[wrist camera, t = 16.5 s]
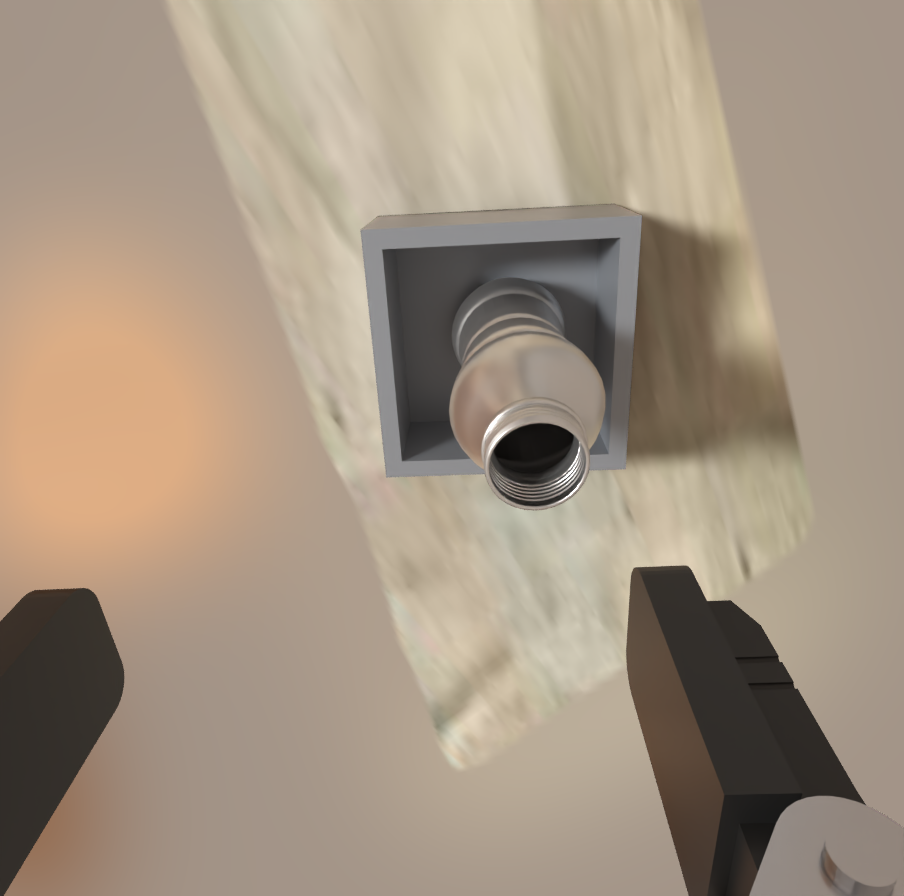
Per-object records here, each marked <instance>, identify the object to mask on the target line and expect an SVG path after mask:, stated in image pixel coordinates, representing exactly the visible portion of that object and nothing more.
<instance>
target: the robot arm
mask: <svg viewBox="0 0 904 896" xmlns="http://www.w3.org/2000/svg"><path fill="white" fill-rule="evenodd" d="M626 658H627V671H628V679H629V684H630V689H631V694H632V697H633V701H634V705H635V708H636V711H637V715H638V719H639V722H640V726H641V729H642V733H643V736H644V740H645V743H646V747H647V750H648V753H649V757H650V761H651V764H652V768H653V771H654V775H655V778H656V782H657V785H658V789H659V792H660V796H661V799H662V803H663V807H664V810H665V814H666V817H667V820H668V824H669V828H670V831H671V835H672V838H673V842H674V845H675V849H676V852H677V856H678V859H679V862H680V866H681V869H682V874H683V877H684V880H685V884H686V888H687V891H688V894H689V896H904V828H903V827H902V826H901V825H900V824H898V823H897V822H895V821H894V820H892V819H891V818H889V817H888V816H886V815H885V814H883V813H881V812H879V811H877V810H875V809H873V808H871V807H868V806H867V805H866V804H865V803H864V801H863V800H862V798H861V797H860V795H859V794H858V792H857V791H856V789H855V787H854V785H853V784H852V782H851V780H850V778H849V777H848V775H847V773H846V771H845V770H844V768H843V766H842V765H841V763H840V761H839V759H838V758H837V756H836V754H835V753H834V751H833V749H832V747H831V746H830V744H829V742H828V740H827V739H826V737H825V735H824V734H823V732H822V730H821V728H820V727H819V725H818V723H817V722H816V720H815V718H814V716H813V715H812V713H811V711H810V710H809V708H808V706H807V705H806V703H805V701H804V699H803V697H802V696H801V694H800V692H799V690H798V689H795V688H794V684H793V680H792V678H791V677H790V675H789V673H788V672H787V670H786V668H785V666H784V665H783V663H782V662H779V659H778V654H777V653H776V651H775V649H774V647H773V646H772V644H771V642H770V641H769V639H768V637H767V635H766V634H765V632H764V630H763V629H762V627H761V625H759V624H758V623H757V622H756V621H755V620H754V619H752V618H751V617H750V616H749V615H748V614H746V613H745V612H744V611H742V609H740V608H739V607H738V606H737V605H735V604H734V603H733V602H732V601H730V600H728V601H707V600H706V598H705V596H704V594H703V592H702V590H701V588H700V586H699V584H698V582H697V580H696V578H695V576H694V574H693V572H692V570H691V569H690V568H689V567H688V566H661V567H636V568H634V569H633V571H632V575H631V584H630V600H629V615H628V631H627V647H626ZM123 687H124V669H123V664H122V661H121V659H120V656H119V653H118V651H117V648H116V645H115V643H114V640H113V638H112V635H111V632H110V630H109V627H108V624H107V622H106V619H105V616H104V614H103V611H102V609H101V606H100V604H99V601H98V599H97V597H96V595H95V594H94V593H93V592H92V591H91V590H89V589H86V588H76V589H53V590H34V591H32V592H30V593H28V594H26V595H25V596H24V597H23V598H22V599H21V600H20V601H19V602H18V603H17V604H16V605H15V607H14V608H13V609H12V610H11V611H10V612H9V613H8V614H7V615H6V616H5V617H4V618H3V620H1V621H0V896H4V894H5V892H6V891H7V889H8V888H9V886H10V884H11V883H12V881H13V879H14V878H15V876H16V874H17V873H18V871H19V869H20V868H21V866H22V864H23V863H24V861H25V859H26V858H27V856H28V854H29V853H30V851H31V850H32V848H33V846H34V844H35V843H36V841H37V839H38V838H39V836H40V834H41V833H42V831H43V829H44V828H45V826H46V825H47V823H48V821H49V820H50V818H51V816H52V815H53V813H54V811H55V810H56V808H57V806H58V805H59V803H60V801H61V800H62V798H63V797H64V795H65V793H66V792H67V790H68V788H69V787H70V785H71V783H72V782H73V780H74V778H75V777H76V775H77V773H78V771H79V770H80V768H81V767H82V765H83V763H84V762H85V760H86V758H87V757H88V755H89V753H90V752H91V750H92V748H93V747H94V745H95V744H96V742H97V740H98V738H99V737H100V735H101V734H102V732H103V730H104V729H105V727H106V725H107V724H108V722H109V720H110V719H111V717H112V715H113V713H114V712H115V710H116V709H117V707H118V705H119V702H120V700H121V696H122V692H123Z"/></svg>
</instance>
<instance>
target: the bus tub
mask: <svg viewBox="0 0 904 896" xmlns="http://www.w3.org/2000/svg"><path fill="white" fill-rule="evenodd" d="M641 224H642V215H640V214H637V213H635V212H633V211H630V210H628V209H625V208H623V207H621V206H618V205H616V204H599V205H580V206H561V207H542V208H522V209H503V210H484V211H465V212H446V213H426V214H407V215H388V216H378V217H376V218H375V219H374V220H372V221H371V222H370V223H369V224H367V225H366V226H365V227H364V228H362V229H361V239H362V249H363V258H364V268H365V277H366V287H367V297H368V306H369V316H370V325H371V335H372V344H373V354H374V364H375V373H376V383H377V392H378V402H379V411H380V421H381V431H382V440H383V450H384V459H385V469H386V477H411V476H440V475H470V474H485V471H484V469H482V468H481V467H479V466H478V465H477V464H475V463H474V462H473V460H472V459H471V458H470V457H469V456H468V455H467V454H466V453H465V452H464V451H463V449H462V448H461V446H460V445H459V443H458V442H457V440H456V438H455V436H454V433H453V430H452V427H451V424H450V415H449V407H450V397H451V393H452V389H453V386H454V383H455V380H456V377H457V375H458V373H459V371H460V369H461V365H460V363H459V362H458V359H457V357H456V355H455V352H454V349H453V345H452V325H453V322H454V319H455V315H456V313H457V311H458V309H459V308H460V306H461V304H462V303H463V302H464V300H465V299H466V298H467V297H468V296H469V295H470V294H471V293H472V292H473V291H475V290H476V289H477V288H478V287H480V286H481V285H483V284H485V283H487V282H489V281H492V280H495V279H498V278H506V277H513V278H522V279H526V280H529V281H533V282H535V283H537V284H539V285H541V286H543V287H544V288H545V289H547V290H548V291H549V292H550V293H551V294H552V295H553V296H554V297H555V299H556V300H557V301H558V303H559V305H560V307H561V309H562V311H563V314H564V318H565V322H566V339H567V340H568V341H569V342H571V343H573V344H574V345H575V346H576V347H578V348H579V349H580V350H581V351H583V353H584V354H585V355H586V356H587V357H588V358H589V360H590V361H591V362H592V363H593V365H594V366H595V367H596V369H597V371H598V373H599V375H600V377H601V379H602V381H603V386H604V390H605V407H606V408H605V413H604V417H603V422H602V426H601V429H600V432H599V434H598V436H597V439H596V441H595V442H594V444H593V445H592V447H591V448H590V450H589V452H590V468H589V470H616V469H626V455H627V439H628V424H629V409H630V393H631V378H632V362H633V347H634V332H635V316H636V301H637V285H638V270H639V255H640V239H641Z"/></svg>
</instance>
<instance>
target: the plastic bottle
mask: <svg viewBox="0 0 904 896" xmlns="http://www.w3.org/2000/svg"><path fill="white" fill-rule="evenodd" d="M452 345H453V349H454V352H455V355H456V357H457V359H458V362H459V363H460V365H461V369H460V371H459V373H458V375H457V377H456V380H455V383H454V386H453V389H452V393H451V397H450V407H449V415H450V424H451V427H452V430H453V433H454V436H455V438H456V440H457V442H458V443H459V445H460V446H461V448H462V449H463V451H464V452H465V453H466V454H467V455H468V456H469V457H470V458H471V459H472V460H473V462H474V463H475V464H477V465H478V466H479V467H481V468H482V469H484V471H485V476H486V479H487V482H488V484H489V486H490V488H491V489H492V491H493V492H494V493H495V494H496V495H497V496H498V498H499V499H501V500H502V501H504V502H505V503H507V504H509V505H511V506H513V507H516V508H520V509H524V510H544V509H548V508H552V507H555V506H557V505H560V504H562V503H564V502H565V501H567V500H568V499H570V498H571V497H573V496H574V495H575V494H576V493H577V492H578V491H579V490H580V488H581V487H582V485H583V484H584V482H585V480H586V478H587V476H588V473H589V468H590V452H589V450H590V448H591V447H592V445H593V444H594V442H595V441H596V439H597V436H598V434H599V432H600V429H601V426H602V422H603V417H604V413H605V408H606V407H605V390H604V386H603V381H602V379H601V377H600V375H599V373H598V371H597V369H596V367H595V366H594V365H593V363H592V362H591V361H590V360H589V358H588V357H587V356H586V355H585V354H584V353H583V351H581V350H580V349H579V348H578V347H576V346H575V345H574V344H573V343H571V342H569V341H568V340H567V339H566V322H565V318H564V314H563V311H562V309H561V307H560V305H559V303H558V301H557V300H556V299H555V297H554V296H553V295H552V294H551V293H550V292H549V291H548V290H547V289H545V288H544V287H543V286H541V285H539V284H537V283H535V282H533V281H529V280H526V279H522V278H513V277H506V278H498V279H495V280H492V281H489V282H487V283H485V284H483V285H481V286H480V287H478V288H477V289H476V290H475V291H473V292H472V293H471V294H470V295H469V296H468V297H467V298H466V299H465V300H464V302H463V303H462V304H461V306H460V308H459V309H458V311H457V313H456V315H455V319H454V322H453V325H452Z"/></svg>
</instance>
